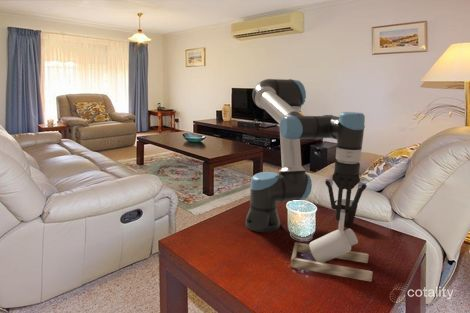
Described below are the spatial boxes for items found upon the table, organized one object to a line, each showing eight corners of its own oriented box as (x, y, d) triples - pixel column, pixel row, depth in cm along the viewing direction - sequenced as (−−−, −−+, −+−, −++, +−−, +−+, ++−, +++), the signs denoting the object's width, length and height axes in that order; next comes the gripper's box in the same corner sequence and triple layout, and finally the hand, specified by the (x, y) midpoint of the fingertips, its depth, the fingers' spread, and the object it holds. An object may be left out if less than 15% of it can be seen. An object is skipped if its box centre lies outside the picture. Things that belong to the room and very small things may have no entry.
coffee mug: (358, 227, 137) (360, 206, 135) (338, 227, 137) (341, 205, 135) (349, 216, 149) (351, 197, 147) (331, 216, 149) (333, 196, 147)
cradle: (290, 267, 106) (291, 259, 105) (294, 249, 118) (295, 242, 117) (371, 281, 99) (372, 273, 98) (367, 261, 111) (368, 253, 110)
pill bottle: (312, 260, 104) (353, 241, 98) (306, 239, 110) (344, 220, 104) (324, 267, 109) (363, 250, 103) (317, 246, 115) (354, 229, 109)
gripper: (326, 161, 98) (320, 231, 103) (371, 165, 94) (362, 237, 99) (326, 156, 105) (321, 222, 110) (368, 160, 101) (360, 227, 106)
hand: (340, 229), depth 105 cm, fingers closed
